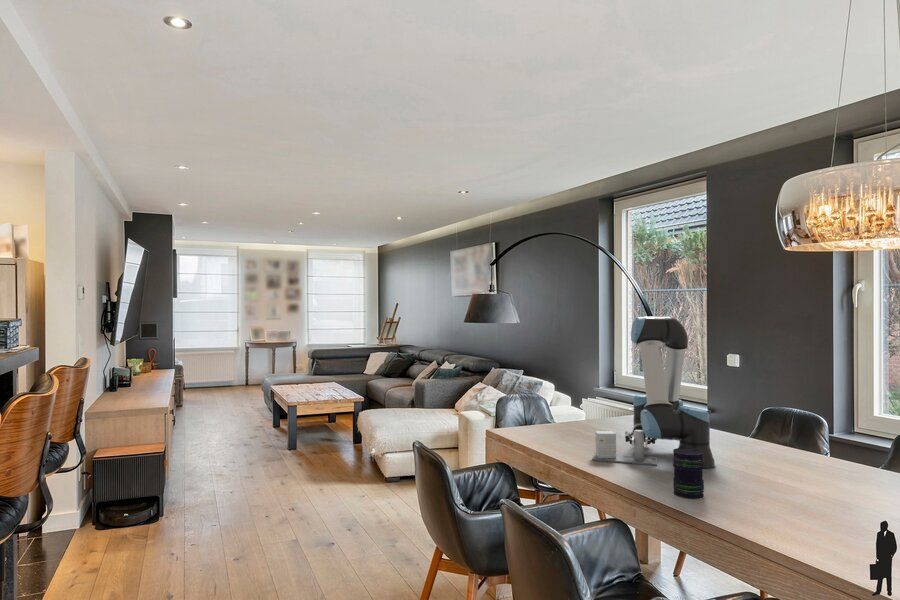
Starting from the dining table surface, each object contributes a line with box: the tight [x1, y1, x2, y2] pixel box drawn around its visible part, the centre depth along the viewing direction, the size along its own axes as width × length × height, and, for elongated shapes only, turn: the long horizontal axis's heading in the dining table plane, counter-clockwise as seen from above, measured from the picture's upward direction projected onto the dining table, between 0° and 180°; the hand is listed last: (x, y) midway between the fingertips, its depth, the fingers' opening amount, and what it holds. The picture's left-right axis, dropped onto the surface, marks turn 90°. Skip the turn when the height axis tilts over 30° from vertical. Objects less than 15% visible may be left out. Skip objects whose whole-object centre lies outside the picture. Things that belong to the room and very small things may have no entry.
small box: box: [595, 430, 617, 458], centre depth 250 cm, size 8×6×10 cm
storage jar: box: [672, 447, 705, 500], centre depth 200 cm, size 10×10×15 cm
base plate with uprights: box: [591, 430, 658, 467], centre depth 248 cm, size 26×12×13 cm, turn 71°
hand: (639, 443), depth 240 cm, fingers open, 5 cm apart
